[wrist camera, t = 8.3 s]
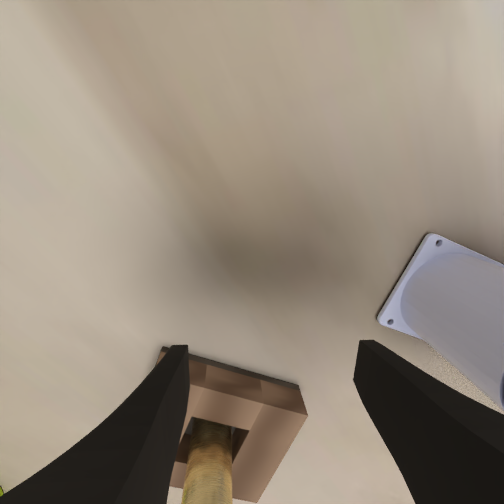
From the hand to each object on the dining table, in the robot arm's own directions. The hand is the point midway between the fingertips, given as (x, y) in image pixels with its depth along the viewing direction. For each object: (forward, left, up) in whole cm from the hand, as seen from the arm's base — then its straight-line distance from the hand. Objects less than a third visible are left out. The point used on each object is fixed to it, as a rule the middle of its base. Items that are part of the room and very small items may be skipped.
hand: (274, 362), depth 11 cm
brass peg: (-1, +13, -9) cm, 16 cm away
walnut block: (-1, +13, -9) cm, 16 cm away
